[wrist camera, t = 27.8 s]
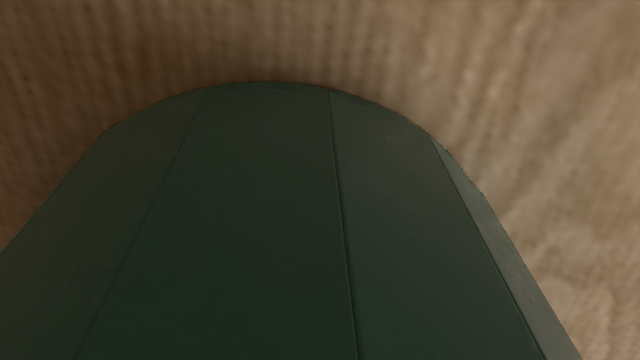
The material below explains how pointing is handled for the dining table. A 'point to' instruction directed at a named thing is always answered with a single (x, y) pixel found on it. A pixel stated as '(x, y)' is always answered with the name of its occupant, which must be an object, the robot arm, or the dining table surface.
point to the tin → (269, 242)
